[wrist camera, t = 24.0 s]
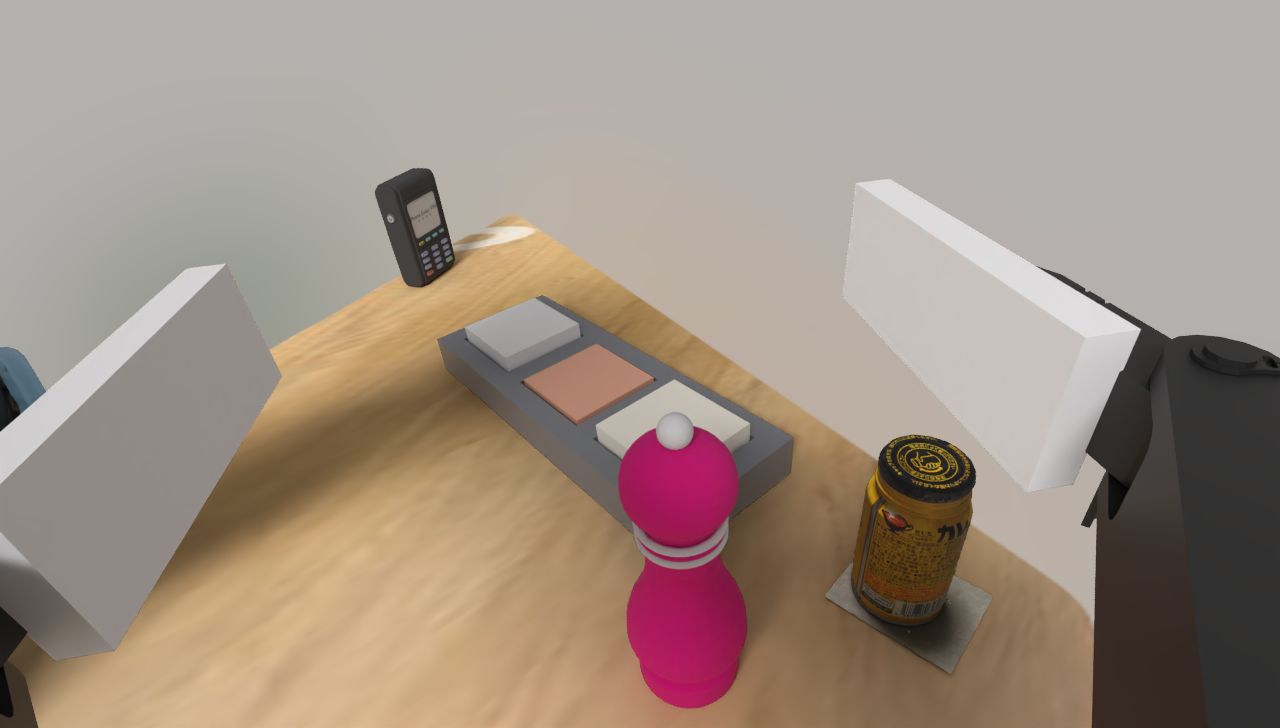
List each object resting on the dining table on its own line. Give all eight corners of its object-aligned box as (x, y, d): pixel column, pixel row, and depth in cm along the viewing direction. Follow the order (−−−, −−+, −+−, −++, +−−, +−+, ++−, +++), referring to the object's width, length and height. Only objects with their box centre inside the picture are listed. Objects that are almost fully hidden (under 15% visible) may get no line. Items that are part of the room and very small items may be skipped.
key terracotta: (581, 446, 55) (576, 420, 54) (529, 404, 61) (523, 379, 60) (655, 402, 60) (653, 377, 58) (600, 367, 66) (596, 343, 64)
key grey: (511, 382, 63) (505, 357, 61) (470, 350, 69) (464, 326, 67) (582, 347, 67) (578, 323, 66) (538, 320, 73) (534, 297, 72)
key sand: (670, 507, 47) (668, 479, 45) (599, 451, 53) (595, 424, 51) (749, 451, 51) (750, 423, 50) (675, 405, 57) (674, 379, 56)
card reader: (424, 290, 88) (393, 187, 80) (402, 287, 90) (369, 186, 81) (460, 263, 96) (434, 167, 87) (438, 261, 97) (411, 166, 89)
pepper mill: (762, 636, 40) (776, 391, 29) (718, 741, 35) (714, 492, 24) (664, 594, 43) (643, 359, 32) (611, 684, 38) (565, 442, 27)
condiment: (873, 534, 46) (898, 409, 40) (993, 597, 41) (1044, 467, 35) (823, 598, 42) (842, 471, 36) (949, 677, 37) (998, 546, 30)
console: (670, 567, 45) (667, 530, 43) (446, 368, 70) (437, 339, 68) (790, 472, 52) (793, 437, 50) (547, 323, 77) (542, 295, 75)
